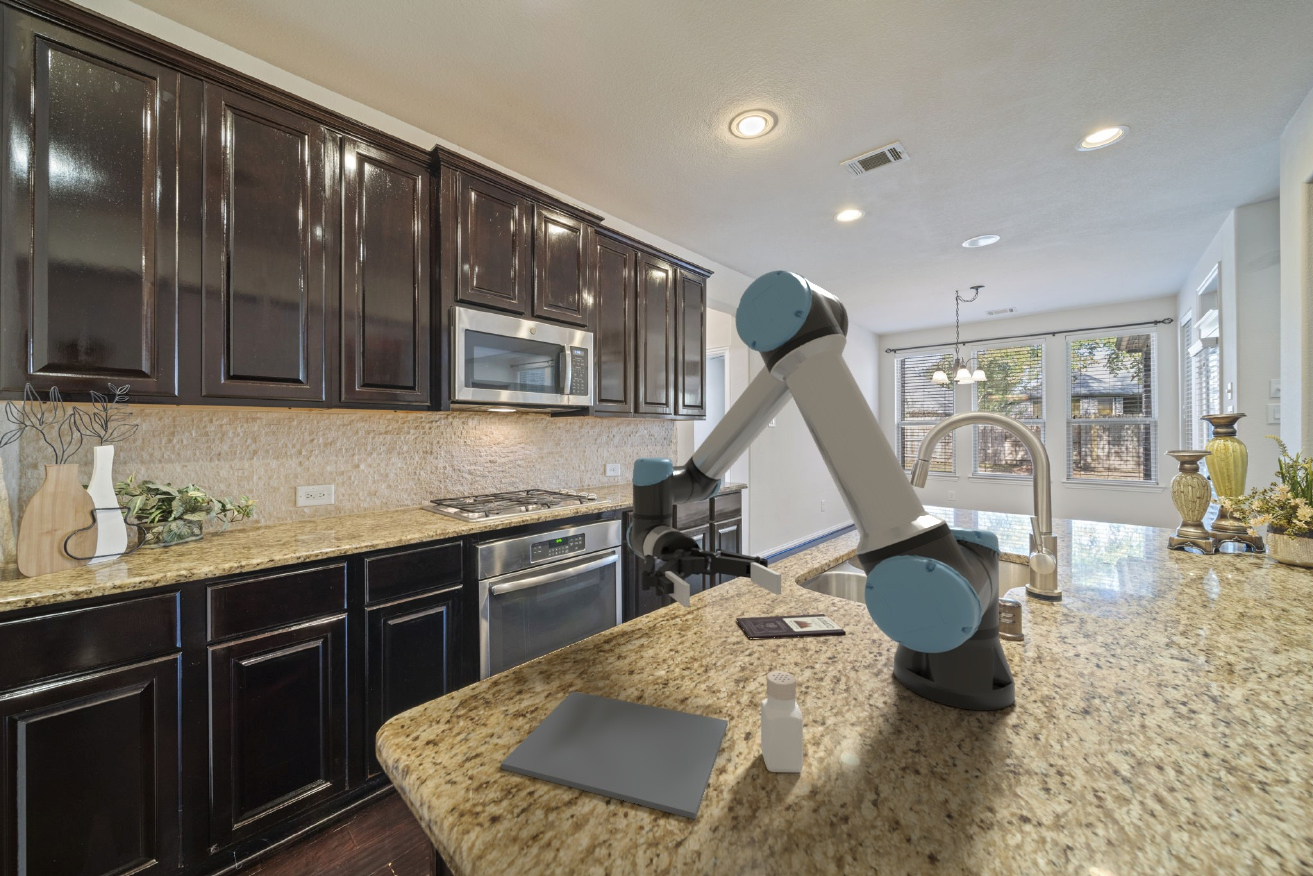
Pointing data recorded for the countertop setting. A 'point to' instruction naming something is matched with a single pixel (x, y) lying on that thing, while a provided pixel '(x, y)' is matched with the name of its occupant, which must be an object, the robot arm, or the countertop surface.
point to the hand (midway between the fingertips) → (734, 590)
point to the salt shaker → (781, 725)
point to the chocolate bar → (789, 626)
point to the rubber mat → (623, 752)
